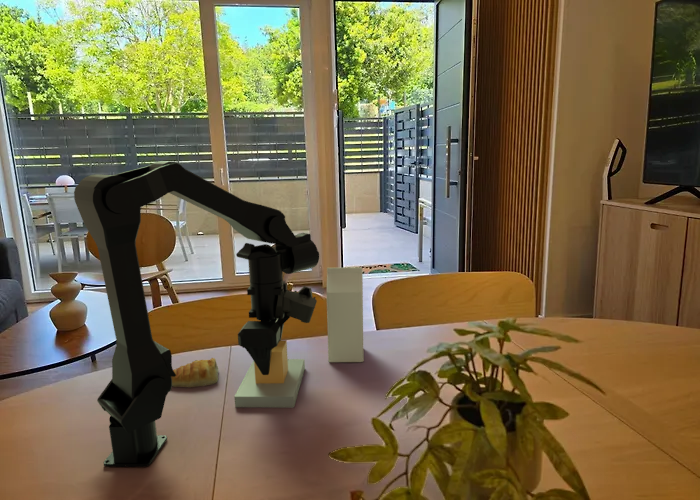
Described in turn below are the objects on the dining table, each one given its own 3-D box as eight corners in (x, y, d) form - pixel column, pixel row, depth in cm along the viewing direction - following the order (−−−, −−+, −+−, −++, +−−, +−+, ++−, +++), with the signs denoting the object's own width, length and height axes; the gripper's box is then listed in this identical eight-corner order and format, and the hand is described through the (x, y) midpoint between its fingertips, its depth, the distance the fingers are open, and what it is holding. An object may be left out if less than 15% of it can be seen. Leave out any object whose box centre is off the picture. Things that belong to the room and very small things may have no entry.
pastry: (166, 394, 83) (163, 374, 82) (168, 377, 89) (166, 359, 89) (219, 385, 86) (218, 366, 85) (218, 369, 92) (216, 351, 91)
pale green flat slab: (293, 407, 78) (292, 371, 76) (235, 407, 78) (232, 371, 76) (304, 368, 91) (303, 337, 90) (254, 368, 92) (252, 337, 90)
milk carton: (363, 362, 93) (362, 272, 89) (328, 363, 93) (325, 272, 89) (363, 347, 100) (362, 263, 96) (330, 348, 100) (328, 263, 96)
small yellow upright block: (283, 383, 82) (282, 351, 80) (255, 383, 82) (253, 352, 80) (288, 370, 86) (286, 340, 85) (261, 370, 87) (259, 340, 85)
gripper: (305, 296, 71) (309, 388, 74) (318, 265, 89) (320, 341, 92) (233, 296, 71) (240, 388, 74) (260, 266, 89) (265, 341, 93)
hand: (271, 362), depth 83 cm, fingers open, 9 cm apart
